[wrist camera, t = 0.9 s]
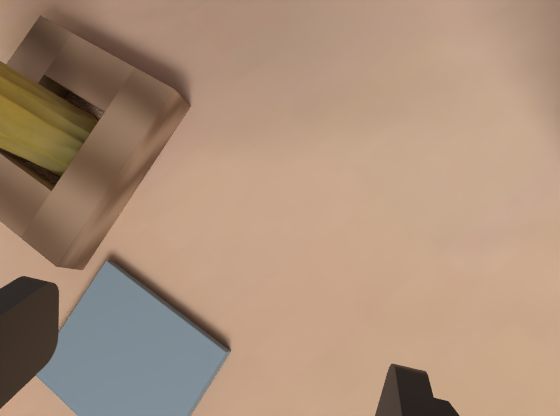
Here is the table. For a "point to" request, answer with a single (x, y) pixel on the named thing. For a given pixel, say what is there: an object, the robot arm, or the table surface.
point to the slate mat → (130, 353)
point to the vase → (40, 122)
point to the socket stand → (85, 145)
